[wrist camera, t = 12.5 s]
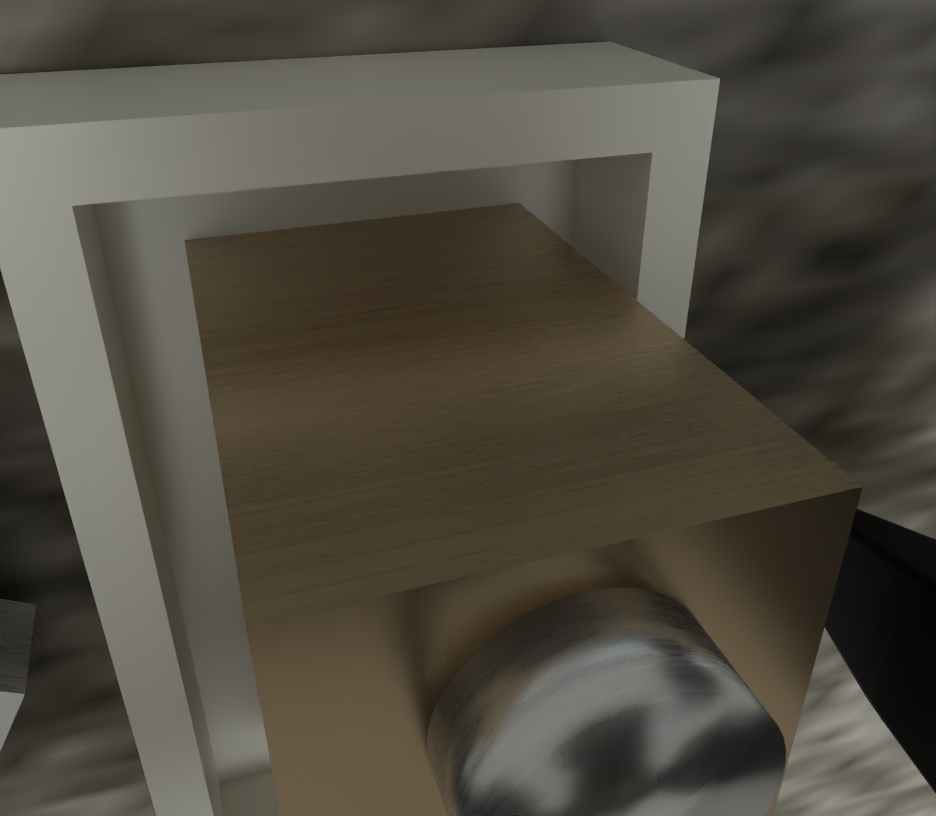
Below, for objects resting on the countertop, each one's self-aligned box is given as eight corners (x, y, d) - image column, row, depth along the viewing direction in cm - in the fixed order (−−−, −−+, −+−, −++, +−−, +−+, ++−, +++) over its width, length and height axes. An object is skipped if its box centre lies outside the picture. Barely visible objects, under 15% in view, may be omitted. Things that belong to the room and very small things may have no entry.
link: (184, 240, 9) (267, 764, 4) (518, 203, 10) (968, 574, 4) (269, 724, 12) (373, 1334, 7) (507, 663, 13) (750, 1164, 8)
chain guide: (-3, 74, 8) (-40, 131, 6) (610, 41, 10) (719, 79, 8) (180, 785, 13) (188, 929, 11) (560, 685, 15) (620, 796, 13)
